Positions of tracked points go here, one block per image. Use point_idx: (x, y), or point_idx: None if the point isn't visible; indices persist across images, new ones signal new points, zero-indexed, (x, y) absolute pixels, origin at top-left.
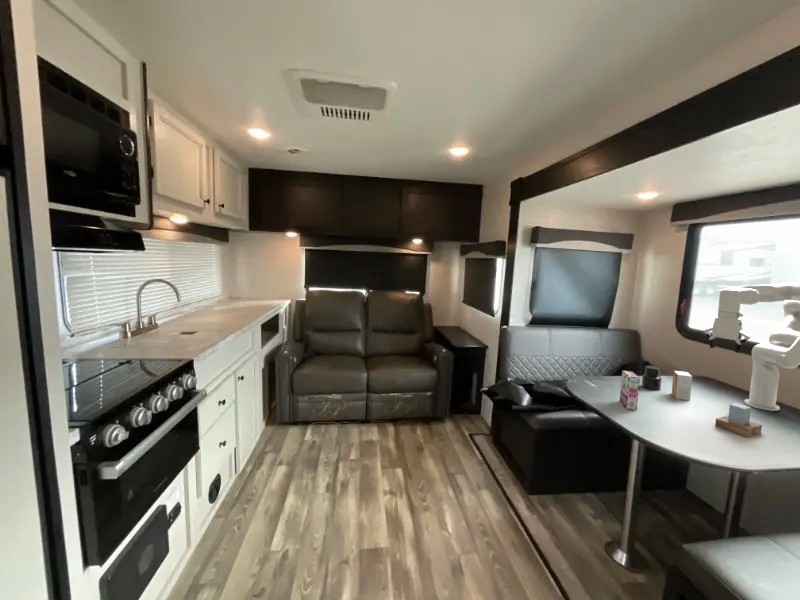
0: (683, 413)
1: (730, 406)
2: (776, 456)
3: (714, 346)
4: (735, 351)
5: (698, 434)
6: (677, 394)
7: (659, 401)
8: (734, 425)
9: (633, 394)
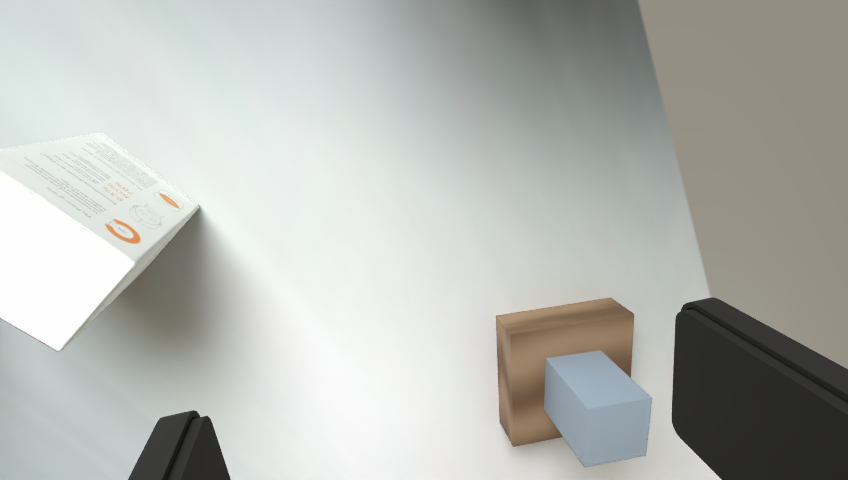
0: (352, 428)
1: (582, 459)
2: None
3: (212, 469)
4: (685, 439)
5: None
6: (142, 271)
7: (175, 408)
8: None
9: None
